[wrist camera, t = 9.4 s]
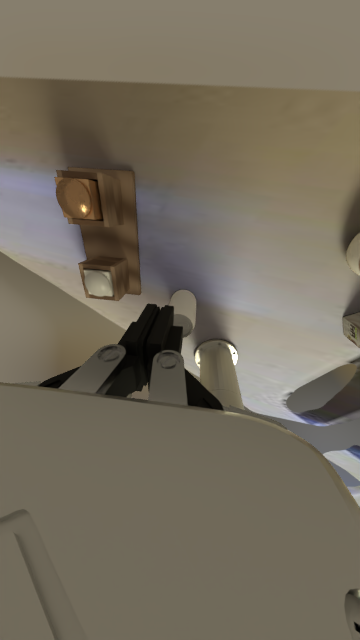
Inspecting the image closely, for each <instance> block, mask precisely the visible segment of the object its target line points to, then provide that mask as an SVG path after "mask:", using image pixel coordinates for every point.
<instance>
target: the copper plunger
mask: <svg viewBox="0 0 360 640" xmlns="http://www.w3.org/2000/svg"><path fill="white" fill-rule="evenodd" d="M55 181H56V186H57V187H56V196H57V200H58V203H59V205H60V207H61V208H62V210H63V214H64V217H67V218H77V219H93V220H97V219H103V212H102V205H101V198H100V192H99V185H98V182H95V181H92V180H88V179H75V178H60V177H55Z"/></svg>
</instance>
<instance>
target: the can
mask: <svg viewBox="0 0 360 640" xmlns="http://www.w3.org/2000/svg"><path fill="white" fill-rule="evenodd" d="M169 306H174V323H173V326H182V327H183V338H184V337H187V336H188V335H190V334H191V332H192V330H193V329H194V326H195V319H196V298H195V296H194V294H193V293H191V292H190V291H188V290H179V291H177V292H175V293H174V294H173V296H172V298H171V300H170V303H169Z"/></svg>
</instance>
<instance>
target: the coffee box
mask: <svg viewBox="0 0 360 640" xmlns="http://www.w3.org/2000/svg"><path fill="white" fill-rule="evenodd" d="M343 330H344V335H345V336H346V337H347V338H348V339H349V340H351V341H352V342H353V343H354V344H355V345H356V346H358V347H359V348H360V312H358V313H355V314H352V315H348V316H345V317H343Z"/></svg>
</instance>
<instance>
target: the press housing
mask: <svg viewBox="0 0 360 640" xmlns="http://www.w3.org/2000/svg"><path fill="white" fill-rule="evenodd" d="M68 170H69V171H63V170H56V172H57V176H58V177H60V178H75V179H88V180H92V181H95V182H98V185H99V192H100V198H101V205H102V212H103V219H97V220H93V219H77V218H67V219H68V223H69V224H78V225H80V228H81V233H82V238H83V242H84V247H85V252H86V257H87V260H85V261H83V262H81V263H78V265H79V269H80V274H81V278H82V282H83V286H84V290H85V295H86V298H95V299H105V300H114V301H119V300H120V299H121V298H122V297H123V296H124V295H125V294H135V295H140V294H141V280H140V262H139V245H138V227H137V209H136V192H135V174H134V172H133V171H123V170H107V169H91V168H75V167H68ZM85 269H98V270H109V271H111V275H112V282H113V289H114V295H113V296H101V297H100V296H95V295H93V294H89V292H88V289H87V288H86V286H85V281H84V280H85V274H84V270H85Z"/></svg>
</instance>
